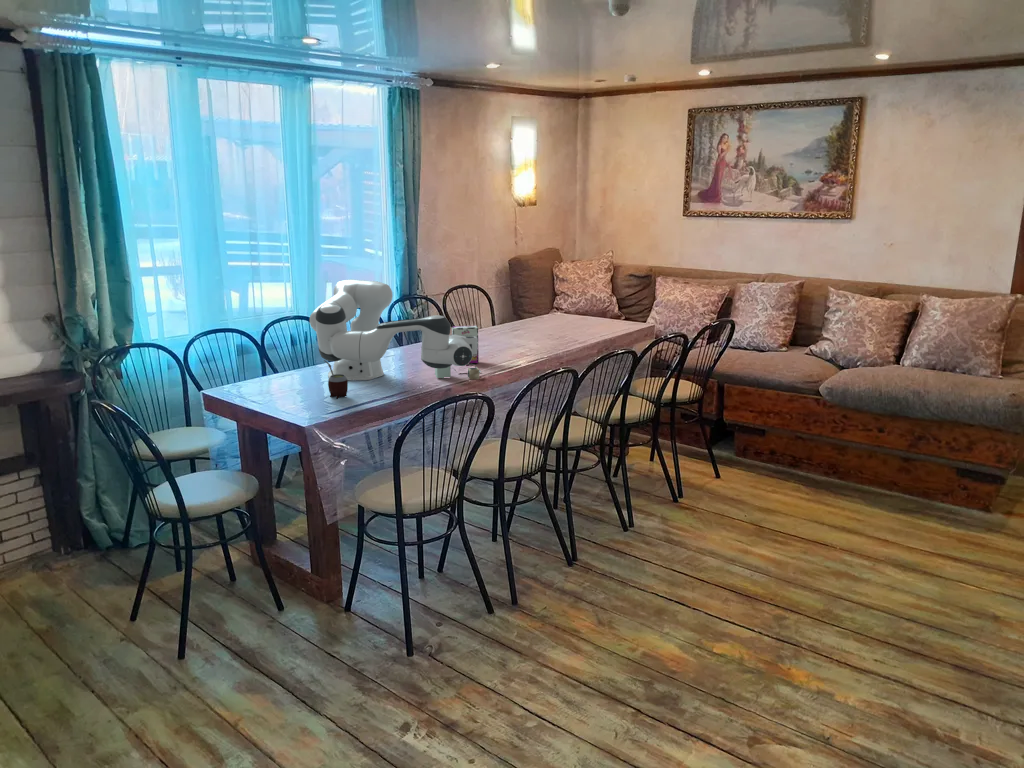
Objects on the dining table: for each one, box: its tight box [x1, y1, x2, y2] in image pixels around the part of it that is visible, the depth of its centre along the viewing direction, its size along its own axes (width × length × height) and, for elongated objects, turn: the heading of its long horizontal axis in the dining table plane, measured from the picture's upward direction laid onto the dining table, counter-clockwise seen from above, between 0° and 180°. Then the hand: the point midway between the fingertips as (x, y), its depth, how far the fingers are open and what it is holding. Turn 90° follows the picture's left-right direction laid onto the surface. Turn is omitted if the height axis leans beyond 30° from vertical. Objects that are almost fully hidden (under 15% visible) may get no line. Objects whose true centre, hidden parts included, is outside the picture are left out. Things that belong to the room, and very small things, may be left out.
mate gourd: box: [323, 359, 349, 400], centre depth 282 cm, size 8×8×15 cm
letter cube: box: [467, 366, 480, 380], centre depth 312 cm, size 4×4×4 cm
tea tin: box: [434, 365, 452, 379], centre depth 311 cm, size 6×6×15 cm
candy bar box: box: [451, 325, 480, 364], centre depth 335 cm, size 11×5×16 cm, turn 101°
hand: (448, 339), depth 297 cm, fingers open, 8 cm apart
